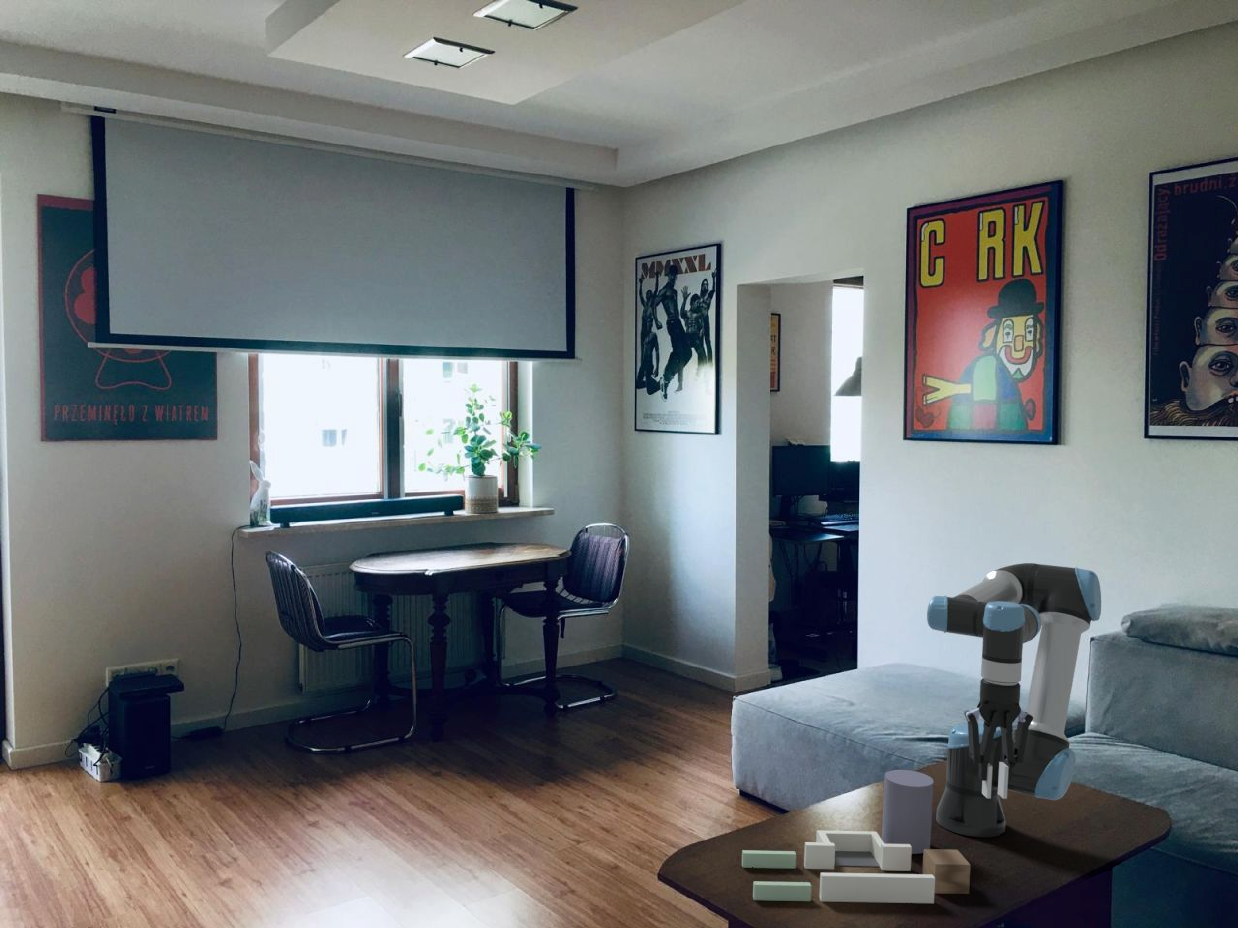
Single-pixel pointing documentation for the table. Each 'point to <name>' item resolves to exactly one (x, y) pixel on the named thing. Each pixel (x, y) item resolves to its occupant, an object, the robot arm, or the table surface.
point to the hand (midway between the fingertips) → (994, 795)
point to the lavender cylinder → (907, 809)
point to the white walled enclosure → (866, 853)
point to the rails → (776, 889)
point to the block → (947, 870)
